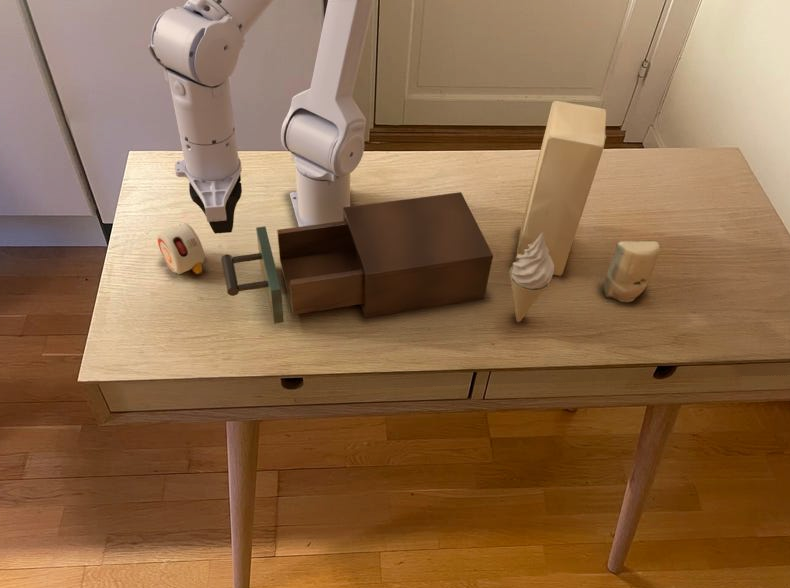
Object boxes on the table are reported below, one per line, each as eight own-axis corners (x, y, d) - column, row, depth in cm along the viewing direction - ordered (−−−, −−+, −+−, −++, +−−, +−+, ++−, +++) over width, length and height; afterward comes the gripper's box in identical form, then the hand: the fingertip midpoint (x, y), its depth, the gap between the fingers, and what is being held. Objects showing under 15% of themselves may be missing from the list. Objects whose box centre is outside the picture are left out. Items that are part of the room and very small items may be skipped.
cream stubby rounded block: (621, 271, 104) (638, 226, 97) (652, 292, 101) (672, 247, 95) (595, 289, 101) (611, 244, 95) (626, 311, 99) (645, 267, 92)
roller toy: (189, 244, 102) (182, 211, 97) (213, 271, 99) (207, 238, 94) (159, 257, 100) (151, 223, 95) (182, 285, 97) (174, 251, 92)
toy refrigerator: (567, 278, 102) (610, 146, 86) (514, 268, 103) (546, 135, 86) (571, 240, 107) (612, 108, 91) (520, 231, 108) (551, 98, 91)
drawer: (233, 330, 91) (228, 297, 87) (222, 266, 98) (216, 232, 94) (392, 305, 96) (394, 272, 91) (370, 245, 102) (371, 212, 98)
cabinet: (365, 317, 95) (366, 274, 89) (342, 251, 103) (343, 207, 97) (484, 298, 99) (493, 255, 93) (454, 235, 106) (461, 191, 100)
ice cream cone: (507, 338, 94) (530, 249, 83) (493, 309, 97) (513, 219, 86) (544, 331, 95) (571, 242, 84) (529, 303, 99) (553, 213, 87)
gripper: (167, 92, 83) (187, 192, 93) (166, 174, 74) (188, 274, 84) (233, 89, 84) (245, 188, 94) (240, 169, 75) (252, 269, 85)
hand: (222, 229), depth 89 cm, fingers closed
